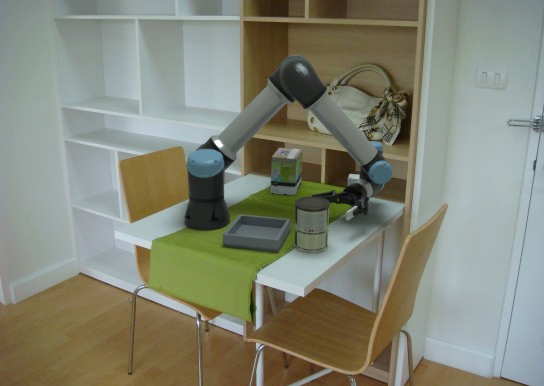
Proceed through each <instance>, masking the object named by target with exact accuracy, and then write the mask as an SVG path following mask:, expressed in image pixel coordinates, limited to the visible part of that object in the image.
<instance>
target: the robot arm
mask: <svg viewBox="0 0 544 386" xmlns="http://www.w3.org/2000/svg"><path fill="white" fill-rule="evenodd" d="M328 90H329V88H328V87H327V86H326V85H325V84H324V83H323V81H322V80H321V78H320V77H319V76H318V74H317V71H316V69H315V68H314V66H313V65H312V63H311V61H310V60H308V59H307V58H306V57H304V56H301V55H290V56H288V57H286V58H284V59H283V60H282V61H281V63H280V64H279V66H278V68H277V69H276V70H275V71H274V72H273V73H271V74H270V76H269V77H268V78H267V85H266V87H265V88H264V89H263V90H262V91H261V92H260V93H259V94H257V96H256V97H255V98H253V100H252V101H250V103H249V104H248V105H247V106H246V107H245V108H244V109H243V110H242V111H241V112H240V113H239V114H238V115H237V116H236V117H235V118H234V119H233V120H232V121H231V122H230V123H229V124H228V125H227V126H226V127H225V128H224V130H223V131H221V132H220V134H219V135H215V134H214V135H211V136H210V137H209V138H208V139H207V140H206V141H205V142H204V143H202V144H201V145H200V146H198V147H197V148H196V150H195V151H192V152H191V153H189V155H188V156H187V158H186V159H187V160H186V168H187V185H188V186H187V187H188V188H187V190H188V202H187V205H186V210H185V213H184V218H183V219H184V224H185V226H187V227H188V228H190V229H193V230H199V231H208V230H209V231H210V230H217V229H221V228H224V227H226V226H228V225H229V224H231V223H230V222H231V214H230V211H229V208H228V205H227V202H226V199H225V172H226V171H227V170H228V168H229V167H230V166H231V165H232V164H234V162H235V161H236V160H237V153H238V152H240V150H241V149H242V148H243V147H244V146H246V144H248V143H249V141H250V140H251V139H252V138H254V136H255V135H256V134H257V133H258V132H259V131H261V130H262V128H263V127H264V126H265V125H267V124H268V122H269V121H270V120H271V119H272V118H273V117H274V116H276V115H277V113H278V112H279V111H280V110H281V109H282V108H283V107H284V106H285V105H286V104H289V105H291V104H294V103H295V102H297V103H298V104H299V105H300V107H302V108H303V109H304V110H305V111H309V112H310V113H311V114H313V116H314V117H315V118H316V119H317V120H318V121H319V123H321V124H322V126H323V127H324V128H325V129H326V130H327V131H328V132H329V134H331V136H332V137H333V138H334V139H335V140H336V141H337V142H338V143H339V145H341V146H342V148H343V149H344V150H345V151H346V152H347V153H348V154H349V155H350V156H351V158H352V159H353V161H355V163H357V164H358V165H359V174H358V175H359V180H357V181H356V182H354V183H352V184H351V185H349V186H348V185H347V186H346V187H345V188H344V189H343V191H341V192H336V191H337V190H335V189H332V190H330V191H325V192H320V193H315V194H312V195H311V196H313V197H321V198H324V199H327V200H328V201H329V202H330V204H335V205H341V204H342V205H348V206H349V207H351V208H350V209H348V210H347V211H345V221H346V222H347V221H350V220H351V219H352V218H354V217H357V216H359V215H362V214H363V215H365V216H368V215H369V205H370V199H371V198H373V197H374V196H376V195H377V194H379V193H380V192H381V191H383V189H384V187H385V184H386V183H388V182H389V181H390V180H391V178H392V176H393V167H392V164H390V163H389V162H388V161H387V160H386V158H385V157H384V155H383V154H384V145H383V144H382V143H381V142H379V141H374V140H371V141H370V140H369V139H368V138H367V137H366V135H365V134H364V133H363V132H362V131H361V130H360V129H359V128H358V127H357V125H356V124H355V123H354V122H353V121H352V120H351V118H350V117H349V115H347V114H346V113H345V112H344V111H343V109H342V108H341V107H340V106H339V105H338V104H337V102H335V100H334V99H333V98H332V97H331V96H330V95H329V93H328Z"/></svg>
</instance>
